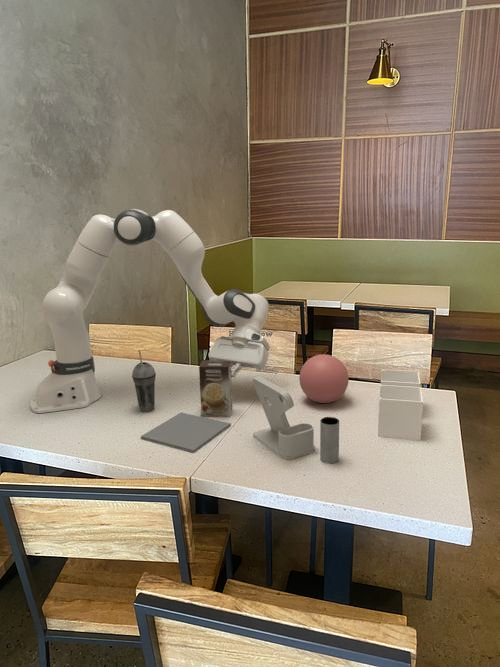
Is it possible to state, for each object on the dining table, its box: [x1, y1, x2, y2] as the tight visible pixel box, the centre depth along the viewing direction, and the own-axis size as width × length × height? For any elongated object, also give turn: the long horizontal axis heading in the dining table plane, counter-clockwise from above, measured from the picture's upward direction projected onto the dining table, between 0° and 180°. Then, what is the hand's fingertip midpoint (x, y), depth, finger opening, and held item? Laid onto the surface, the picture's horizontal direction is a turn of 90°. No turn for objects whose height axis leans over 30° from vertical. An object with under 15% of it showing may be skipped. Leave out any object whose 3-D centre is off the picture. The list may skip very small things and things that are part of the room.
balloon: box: [298, 353, 349, 404], centre depth 158 cm, size 15×20×15 cm
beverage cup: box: [131, 349, 157, 413], centre depth 153 cm, size 7×7×20 cm
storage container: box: [377, 368, 424, 441], centre depth 142 cm, size 25×11×11 cm, turn 164°
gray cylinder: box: [319, 416, 340, 464], centre depth 120 cm, size 4×4×10 cm
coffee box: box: [198, 359, 233, 418], centre depth 150 cm, size 9×6×16 cm
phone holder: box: [252, 375, 316, 461], centre depth 129 cm, size 17×10×18 cm, turn 30°
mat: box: [140, 412, 232, 454], centre depth 139 cm, size 18×18×1 cm
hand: (229, 376), depth 156 cm, fingers closed
